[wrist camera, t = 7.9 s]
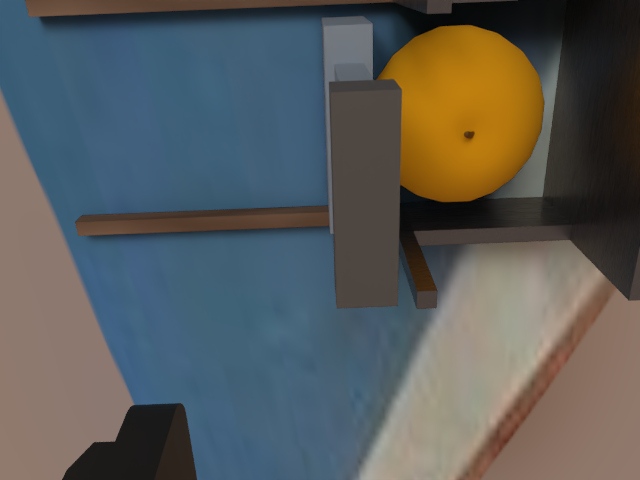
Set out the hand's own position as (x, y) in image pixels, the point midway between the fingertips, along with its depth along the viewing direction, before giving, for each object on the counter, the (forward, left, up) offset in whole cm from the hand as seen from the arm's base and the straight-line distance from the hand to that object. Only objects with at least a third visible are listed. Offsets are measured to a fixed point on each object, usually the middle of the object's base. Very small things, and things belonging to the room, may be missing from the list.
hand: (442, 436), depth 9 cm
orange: (0, +5, -24) cm, 24 cm away
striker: (0, 0, -23) cm, 23 cm away
